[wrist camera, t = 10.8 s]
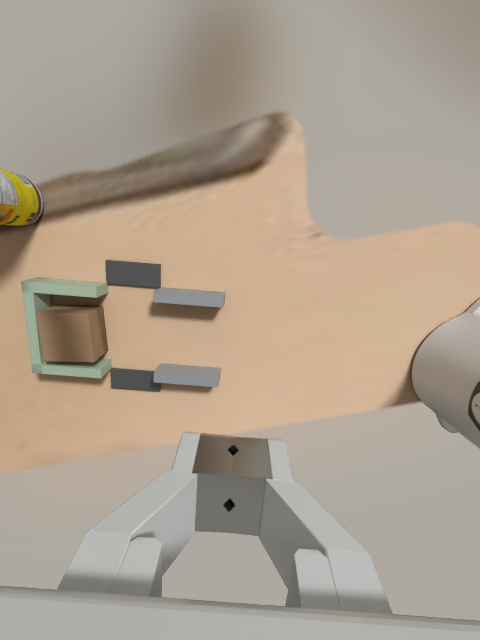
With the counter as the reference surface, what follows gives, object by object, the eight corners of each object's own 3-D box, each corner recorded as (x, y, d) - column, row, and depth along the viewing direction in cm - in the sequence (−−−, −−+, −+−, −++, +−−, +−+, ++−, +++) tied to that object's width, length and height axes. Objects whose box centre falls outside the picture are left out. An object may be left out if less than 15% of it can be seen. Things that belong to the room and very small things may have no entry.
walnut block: (103, 305, 38) (87, 313, 34) (108, 349, 40) (94, 362, 36) (56, 304, 38) (35, 312, 34) (63, 348, 40) (44, 361, 36)
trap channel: (226, 269, 36) (225, 272, 34) (218, 394, 41) (216, 407, 38) (36, 254, 36) (17, 256, 33) (49, 382, 41) (34, 393, 38)
